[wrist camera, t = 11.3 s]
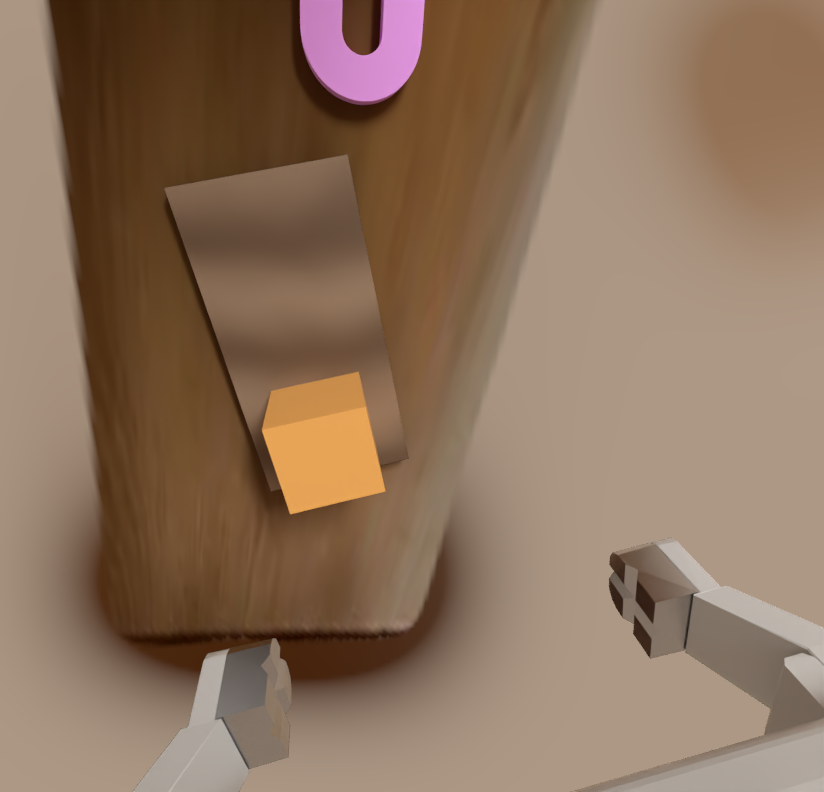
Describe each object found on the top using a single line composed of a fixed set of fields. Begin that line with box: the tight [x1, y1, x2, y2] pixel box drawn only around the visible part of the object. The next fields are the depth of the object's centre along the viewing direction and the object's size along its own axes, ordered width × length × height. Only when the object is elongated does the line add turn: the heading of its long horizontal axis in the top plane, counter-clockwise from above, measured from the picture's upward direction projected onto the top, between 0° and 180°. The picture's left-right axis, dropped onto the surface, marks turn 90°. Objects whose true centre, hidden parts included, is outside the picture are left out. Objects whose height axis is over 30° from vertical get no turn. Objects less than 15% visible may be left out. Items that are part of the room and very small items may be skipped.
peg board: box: [164, 155, 409, 491], centre depth 27 cm, size 18×9×5 cm, turn 10°
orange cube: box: [262, 372, 385, 514], centre depth 28 cm, size 5×5×5 cm
